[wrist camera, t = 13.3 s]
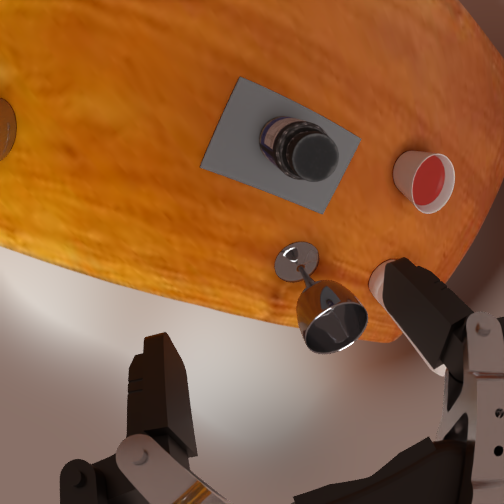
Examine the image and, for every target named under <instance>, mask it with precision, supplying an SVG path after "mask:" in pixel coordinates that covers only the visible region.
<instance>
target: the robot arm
mask: <svg viewBox="0 0 504 504" xmlns="http://www.w3.org/2000/svg"><path fill="white" fill-rule="evenodd" d="M15 135H16V120H15V115H14V112H13V109H12V108H11V106H10V105H9V104H8V103H7V102H6V101H5V100H3V99H1V98H0V161H1V160H2V159H4V158H5V157H6V156H7V154H8V153H9V151H10V150H11V148H12V146H13V143H14V139H15ZM382 298H383V303H384V305H385V308H386V309H387V311H388V312H389V313H390V314H391V316H392V317H393V318H394V319H395V321H396V322H397V323H398V324H399V326H400V327H401V328H402V329H403V331H404V332H405V333H406V334H407V336H408V337H409V338H410V339H411V341H412V342H413V343H414V344H415V346H416V347H417V348H418V350H419V351H420V352H421V353H422V355H423V356H424V357H425V359H426V360H427V361H428V363H429V364H430V365H431V367H432V368H433V369H436V368H438V367H439V366H441V365H443V364H444V365H445V366H446V371H445V386H444V402H443V415H442V419H441V422H440V425H439V428H438V431H437V435H436V440H435V441H434V442H432V441H431V440H430V438H429V437H427V438H425V439H424V440H422V441H420V442H419V443H417V444H415V445H413V446H412V447H410V448H408V449H406V450H404V451H402V452H400V453H399V454H398V455H397V456H396V457H394V458H393V459H392V460H391V461H390V462H388V463H387V464H386V465H385V466H383V467H382V468H381V469H380V470H379V471H377V472H376V473H375V474H373V475H372V476H370V477H368V478H364V479H359V480H354V481H348V482H342V483H336V484H329V485H327V486H324V487H321V488H319V489H315V490H313V491H310V492H307V493H303V494H300V495H297V496H294V497H293V498H294V501H295V502H293V503H291V504H504V317H500V318H495V317H494V316H493V315H491V314H489V313H486V312H475V313H474V312H473V311H472V310H471V309H470V308H469V307H468V306H467V305H466V304H465V303H464V302H463V301H462V300H461V299H460V298H459V297H458V296H457V295H456V294H455V293H454V292H453V291H451V290H450V289H449V288H447V286H446V285H445V284H444V283H443V282H442V281H441V282H440V279H439V278H438V277H437V276H435V275H434V274H433V273H432V272H431V271H429V270H427V269H425V268H422V267H420V266H417V267H416V266H415V265H414V264H413V263H412V262H411V261H409V260H408V259H407V258H405V257H403V258H400V259H398V260H395V261H392V262H390V263H387V264H386V265H385V271H384V282H383V293H382ZM128 381H129V384H128V400H127V436H126V439H124V440H123V441H122V442H121V443H120V445H119V447H118V448H117V451H116V453H115V454H114V455H112V456H110V457H108V458H106V459H103V460H101V461H99V462H96V463H94V464H89V463H88V462H86V461H84V460H81V459H75V460H72V461H70V462H68V463H67V464H66V465H65V466H64V467H63V469H62V471H61V474H60V504H233V503H231V502H230V501H229V500H227V499H226V498H225V497H223V496H222V495H221V494H219V493H218V492H217V491H215V490H214V489H213V488H212V487H210V486H209V485H208V484H207V483H205V482H204V481H203V480H202V479H201V478H199V477H198V476H197V475H196V474H194V473H193V472H192V471H191V470H190V467H189V461H188V458H189V457H195V456H198V455H197V448H196V442H195V435H194V428H193V421H192V414H191V407H190V398H189V390H188V383H187V374H186V369H185V366H184V364H183V361H182V359H181V357H180V355H179V354H178V352H177V350H176V348H175V347H174V345H173V343H172V341H171V339H170V337H169V336H168V334H167V333H166V332H164V333H159V334H156V335H152V336H148V337H145V338H144V350H143V354H138V355H135V357H134V359H133V361H132V363H131V365H130V367H129V378H128Z"/></svg>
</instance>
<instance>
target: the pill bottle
mask: <svg viewBox="0 0 504 504" xmlns="http://www.w3.org/2000/svg"><path fill="white" fill-rule="evenodd" d="M259 144H260V149H261V151H262V153H263V155H264V156H265V157H266V158H267V159H268V160H269V161H271V162H272V163H273V164H274V165H275V166H276V167H277V168H279V169H280V170H281V171H282V172H283V173H284V174H285V175H287V176H288V177H291V178H293V179H297V180H306V181H309V182H319V181H322V180H325V179H326V178H328V177H329V176H330V175H331V174H332V173H333V172H334V171H335V169H336V167H337V165H338V160H339V152H338V148H337V146H336V144H335V142H334V141H333V140H332V139H331V138H330V137H329V136H328V135H327V133H326V132H325V131H324V130H323V129H322V128H321V127H320V126H318V125H316V124H314V123H311V122H307V121H303V120H300V119H296V118H292V117H287V116H280V117H276V118H273V119H271V120H270V121H268V122H267V123H266V124H265V125H264V127H263V128H262V130H261V132H260V136H259Z"/></svg>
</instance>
